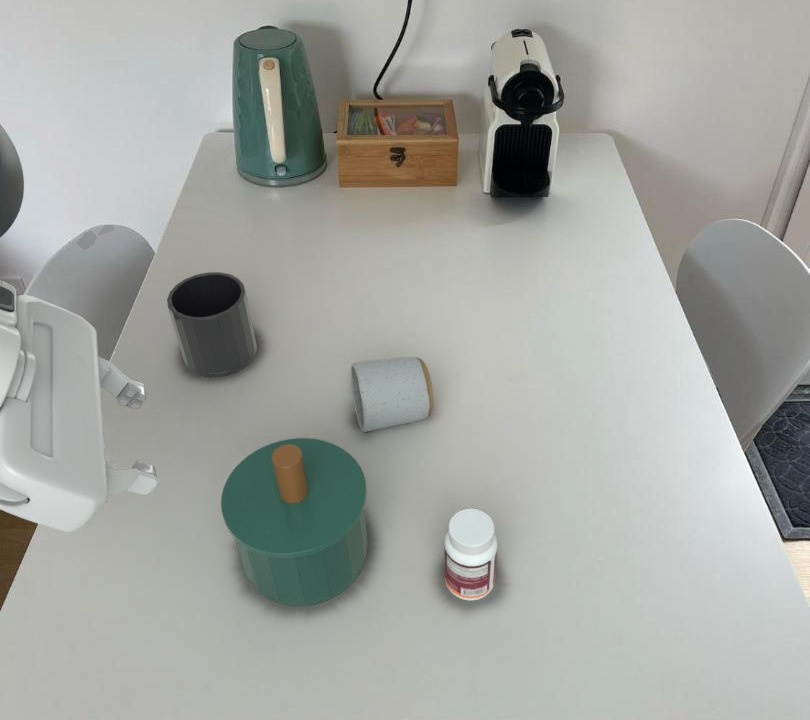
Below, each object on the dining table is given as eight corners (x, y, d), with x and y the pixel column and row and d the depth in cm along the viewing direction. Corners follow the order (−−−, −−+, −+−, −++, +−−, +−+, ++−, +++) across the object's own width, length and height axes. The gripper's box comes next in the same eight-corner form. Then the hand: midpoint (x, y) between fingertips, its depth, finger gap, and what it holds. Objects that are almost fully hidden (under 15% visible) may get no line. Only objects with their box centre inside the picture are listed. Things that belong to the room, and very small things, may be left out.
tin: (254, 622, 74) (238, 569, 68) (235, 519, 82) (219, 464, 76) (381, 585, 76) (376, 531, 70) (350, 488, 84) (343, 434, 79)
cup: (188, 384, 97) (170, 326, 91) (180, 337, 103) (164, 280, 97) (262, 367, 99) (250, 309, 92) (250, 322, 105) (238, 265, 99)
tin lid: (235, 580, 68) (220, 536, 63) (214, 466, 77) (201, 420, 73) (384, 538, 70) (380, 493, 66) (347, 433, 79) (342, 387, 75)
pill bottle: (461, 549, 78) (463, 495, 73) (504, 573, 76) (509, 520, 71) (434, 585, 76) (433, 532, 70) (477, 611, 74) (480, 559, 68)
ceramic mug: (437, 431, 90) (436, 380, 85) (365, 446, 88) (360, 396, 83) (412, 369, 98) (410, 319, 93) (345, 383, 96) (340, 333, 91)
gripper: (-22, 457, 47) (185, 513, 56) (-6, 264, 62) (156, 332, 70) (-71, 524, 49) (136, 568, 58) (-44, 322, 64) (118, 381, 72)
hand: (147, 437), depth 64 cm, fingers open, 8 cm apart
